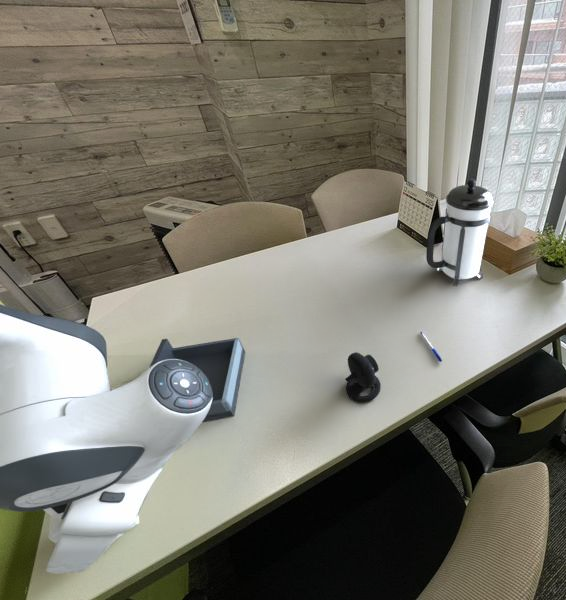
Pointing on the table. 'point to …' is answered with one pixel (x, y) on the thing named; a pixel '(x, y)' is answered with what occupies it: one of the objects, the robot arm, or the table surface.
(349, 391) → the webcam
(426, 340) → the ballpoint pen
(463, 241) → the coffee press
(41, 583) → the table surface
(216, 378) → the drawer
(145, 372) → the robot arm
